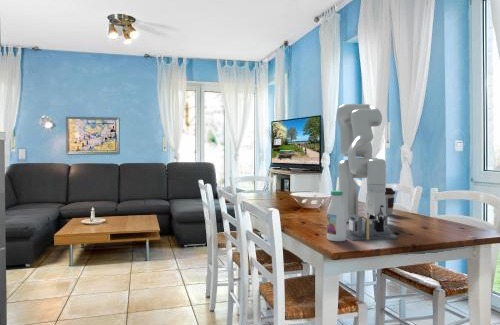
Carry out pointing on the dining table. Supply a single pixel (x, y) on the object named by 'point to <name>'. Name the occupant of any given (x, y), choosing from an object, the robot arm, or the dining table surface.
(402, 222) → the dining table surface
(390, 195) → the coffee cup
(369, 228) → the collar rail
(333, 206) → the milk bottle
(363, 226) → the white post with dot
